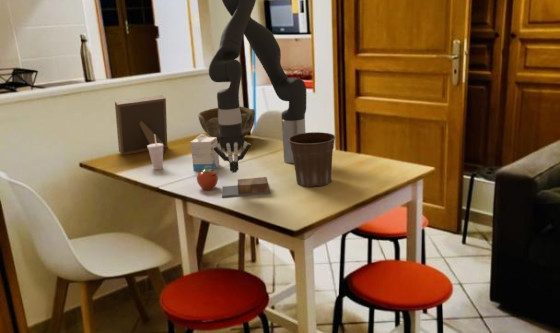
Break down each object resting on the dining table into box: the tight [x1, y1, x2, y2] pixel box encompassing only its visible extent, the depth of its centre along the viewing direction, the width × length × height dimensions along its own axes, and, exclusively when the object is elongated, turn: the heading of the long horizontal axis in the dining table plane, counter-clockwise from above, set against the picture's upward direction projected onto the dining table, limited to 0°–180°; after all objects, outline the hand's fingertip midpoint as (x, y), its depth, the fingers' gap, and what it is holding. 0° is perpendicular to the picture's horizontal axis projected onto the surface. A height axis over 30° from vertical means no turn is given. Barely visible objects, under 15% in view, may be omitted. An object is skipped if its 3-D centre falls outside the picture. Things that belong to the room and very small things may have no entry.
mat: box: [221, 184, 271, 199], centre depth 178 cm, size 16×10×1 cm, turn 95°
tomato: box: [196, 167, 219, 191], centre depth 182 cm, size 7×7×8 cm
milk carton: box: [189, 133, 220, 171], centre depth 207 cm, size 9×8×13 cm
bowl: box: [197, 105, 256, 142], centre depth 249 cm, size 28×27×15 cm
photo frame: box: [114, 94, 168, 156], centre depth 236 cm, size 15×22×25 cm
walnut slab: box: [237, 176, 269, 194], centre depth 176 cm, size 3×7×10 cm
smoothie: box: [147, 134, 164, 170], centre depth 210 cm, size 6×6×14 cm
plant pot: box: [288, 131, 337, 188], centre depth 181 cm, size 16×16×16 cm
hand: (234, 171), depth 175 cm, fingers closed
